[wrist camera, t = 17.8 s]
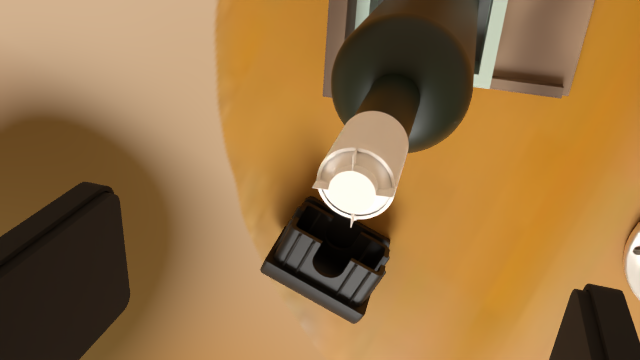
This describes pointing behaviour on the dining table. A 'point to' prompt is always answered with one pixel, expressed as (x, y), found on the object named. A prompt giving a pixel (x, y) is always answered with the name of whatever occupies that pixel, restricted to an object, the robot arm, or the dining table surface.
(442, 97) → the wine bottle
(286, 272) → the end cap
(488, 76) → the socket block
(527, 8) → the rail board
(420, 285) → the dining table surface
